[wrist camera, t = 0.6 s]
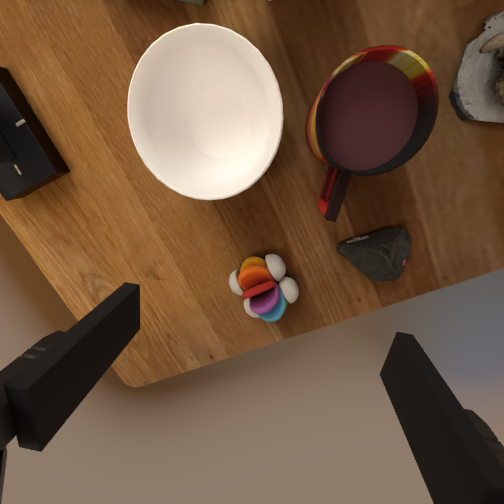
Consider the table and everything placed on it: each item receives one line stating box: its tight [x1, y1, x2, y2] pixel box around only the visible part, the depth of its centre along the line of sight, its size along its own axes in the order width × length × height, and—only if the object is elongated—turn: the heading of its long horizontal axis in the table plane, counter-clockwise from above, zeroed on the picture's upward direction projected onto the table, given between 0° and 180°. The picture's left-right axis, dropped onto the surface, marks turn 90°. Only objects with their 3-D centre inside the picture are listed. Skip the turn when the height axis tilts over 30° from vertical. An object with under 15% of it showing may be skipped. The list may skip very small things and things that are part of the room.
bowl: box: [127, 23, 284, 200], centre depth 31 cm, size 16×16×8 cm
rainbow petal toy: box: [229, 254, 299, 322], centre depth 39 cm, size 8×10×7 cm
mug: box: [305, 45, 439, 222], centre depth 29 cm, size 10×14×12 cm
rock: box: [337, 226, 411, 282], centre depth 37 cm, size 9×7×5 cm
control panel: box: [0, 67, 70, 201], centre depth 38 cm, size 14×10×3 cm
